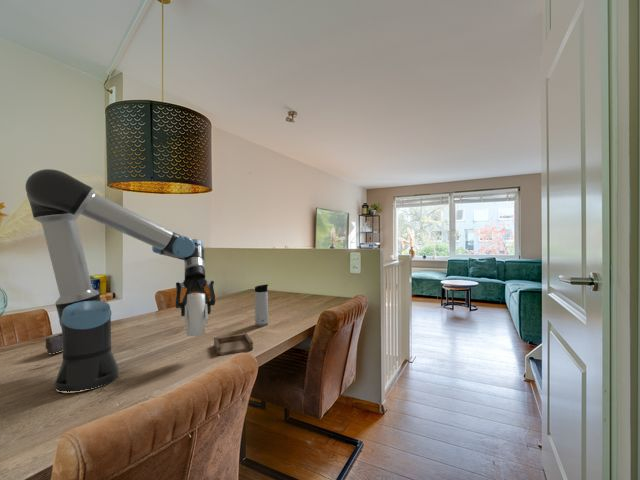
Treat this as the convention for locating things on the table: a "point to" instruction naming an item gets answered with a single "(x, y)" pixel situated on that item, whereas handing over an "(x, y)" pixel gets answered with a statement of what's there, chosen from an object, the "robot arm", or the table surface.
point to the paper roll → (195, 314)
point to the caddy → (232, 344)
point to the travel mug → (261, 305)
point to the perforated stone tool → (54, 344)
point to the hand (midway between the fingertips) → (196, 322)
